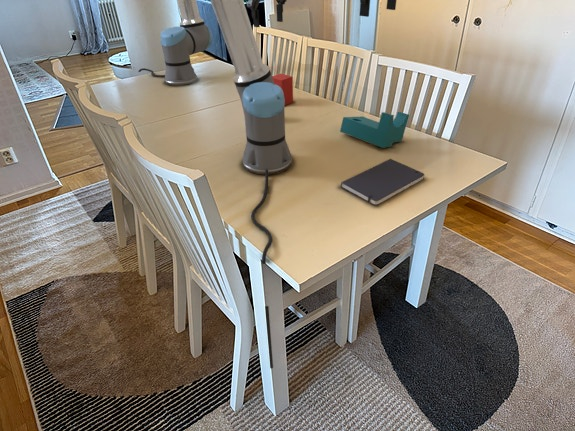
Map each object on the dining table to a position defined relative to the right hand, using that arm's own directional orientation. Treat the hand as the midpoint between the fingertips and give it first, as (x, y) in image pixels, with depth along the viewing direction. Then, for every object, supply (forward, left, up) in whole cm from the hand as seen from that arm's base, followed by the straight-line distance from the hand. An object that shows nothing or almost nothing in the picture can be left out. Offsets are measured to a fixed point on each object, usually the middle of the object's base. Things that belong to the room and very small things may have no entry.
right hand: (377, 12), depth 119 cm
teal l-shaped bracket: (-3, -1, -39) cm, 39 cm away
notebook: (-32, +6, -39) cm, 51 cm away
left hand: (+58, +25, -12) cm, 64 cm away
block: (+39, +23, -39) cm, 59 cm away
